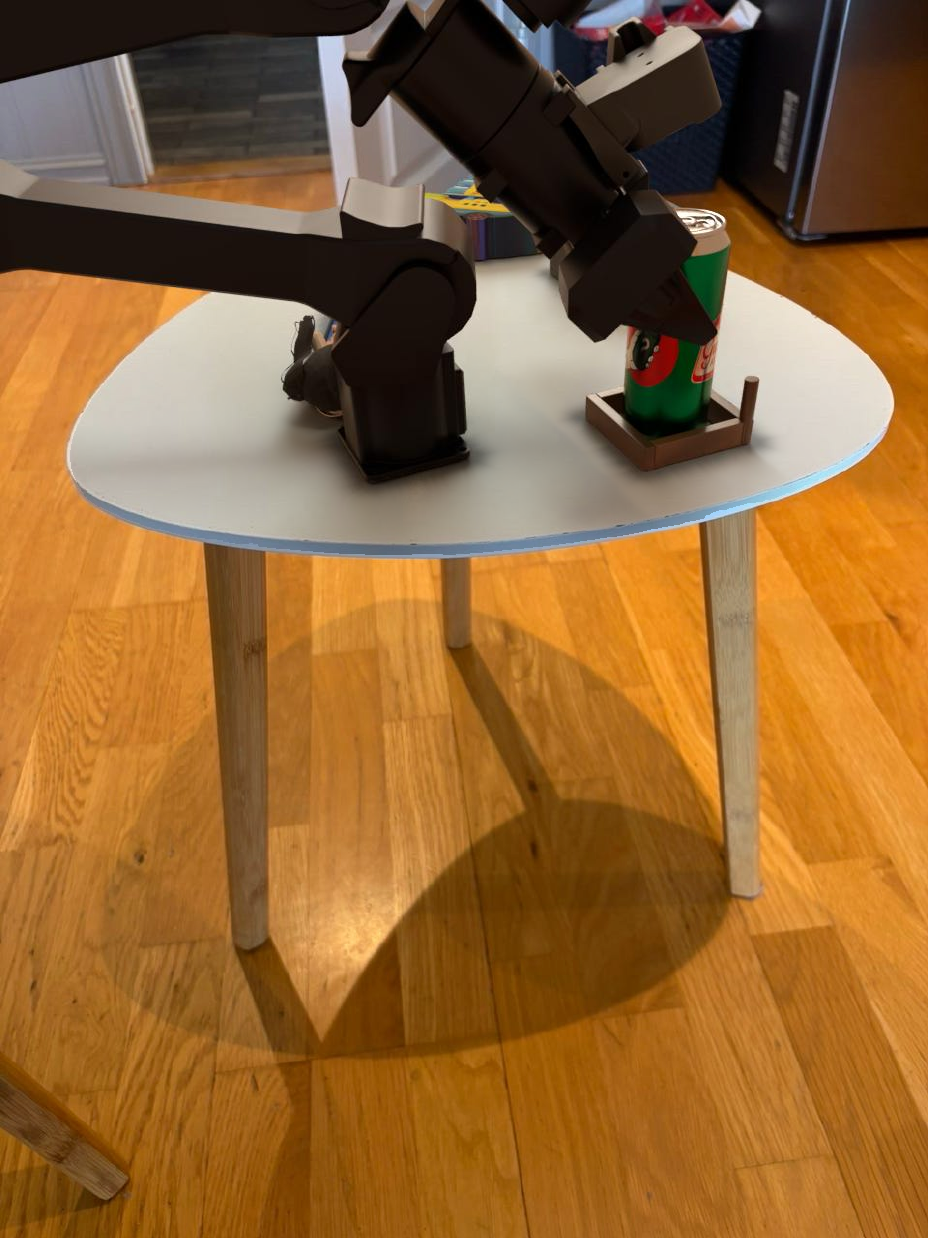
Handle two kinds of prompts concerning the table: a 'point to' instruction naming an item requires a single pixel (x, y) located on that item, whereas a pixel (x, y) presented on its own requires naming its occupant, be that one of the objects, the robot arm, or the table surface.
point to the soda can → (679, 344)
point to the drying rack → (664, 451)
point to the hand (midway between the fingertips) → (699, 318)
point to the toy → (487, 222)
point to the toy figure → (313, 370)
